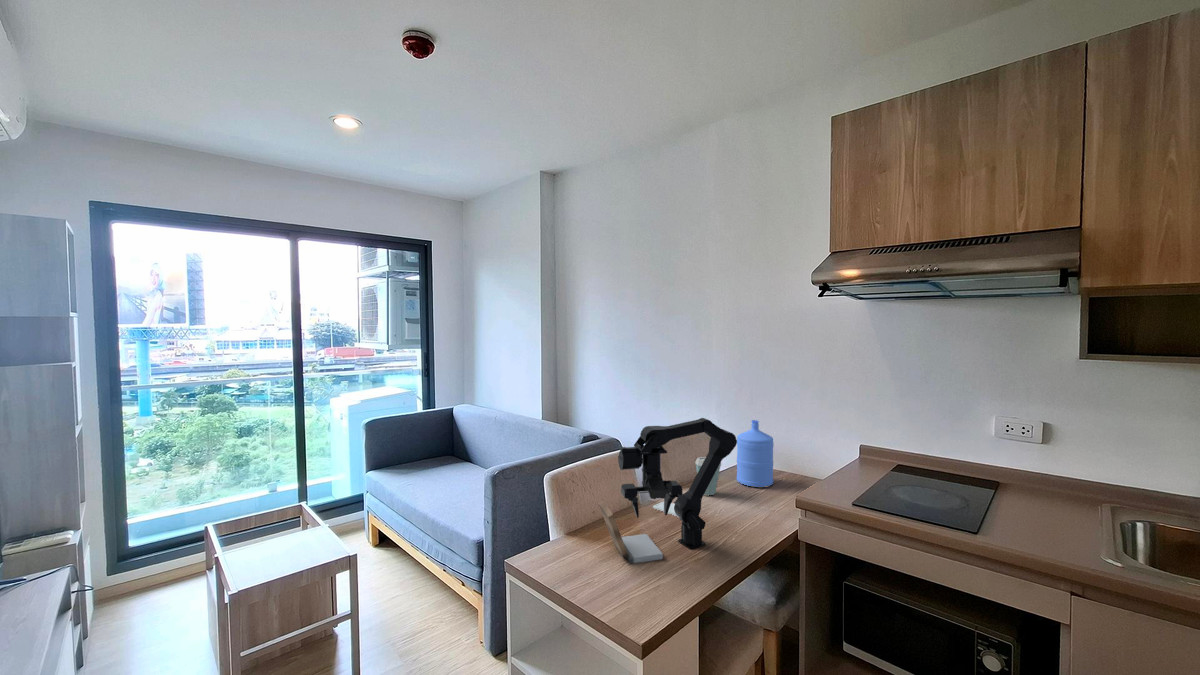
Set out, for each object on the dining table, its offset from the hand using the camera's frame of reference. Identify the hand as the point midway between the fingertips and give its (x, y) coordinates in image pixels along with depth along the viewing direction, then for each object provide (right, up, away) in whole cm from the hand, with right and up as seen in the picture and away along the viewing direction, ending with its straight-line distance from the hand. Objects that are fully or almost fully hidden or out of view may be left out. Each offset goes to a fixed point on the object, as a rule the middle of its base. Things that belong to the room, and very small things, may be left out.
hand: (651, 516), depth 146 cm
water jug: (+53, -9, +62) cm, 82 cm away
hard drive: (+11, -10, +31) cm, 35 cm away
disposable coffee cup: (+29, -9, +48) cm, 57 cm away
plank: (-13, -3, -4) cm, 14 cm away
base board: (-4, -10, -1) cm, 11 cm away
